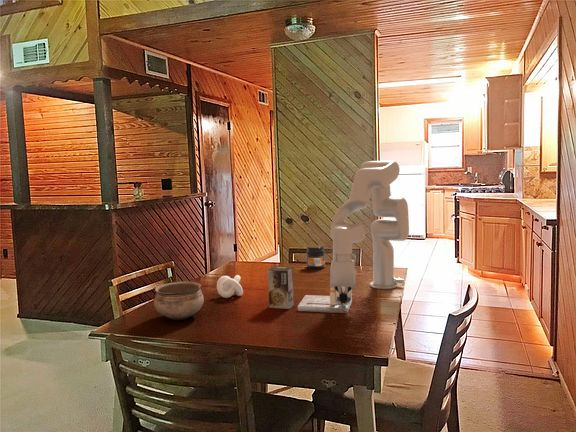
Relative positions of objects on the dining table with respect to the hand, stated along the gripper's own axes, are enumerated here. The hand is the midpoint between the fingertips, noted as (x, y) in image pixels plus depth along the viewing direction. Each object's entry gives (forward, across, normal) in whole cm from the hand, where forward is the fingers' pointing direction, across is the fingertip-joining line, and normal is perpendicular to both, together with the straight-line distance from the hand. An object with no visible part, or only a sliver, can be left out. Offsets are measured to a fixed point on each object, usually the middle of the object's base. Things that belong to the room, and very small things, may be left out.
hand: (343, 302), depth 191 cm
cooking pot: (+3, +62, +18) cm, 65 cm away
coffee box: (+3, +26, -1) cm, 26 cm away
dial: (+1, +1, -9) cm, 9 cm away
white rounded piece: (+3, +52, -13) cm, 54 cm away
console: (+3, +8, -4) cm, 9 cm away
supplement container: (+3, +24, -75) cm, 79 cm away
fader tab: (0, +4, 0) cm, 4 cm away
